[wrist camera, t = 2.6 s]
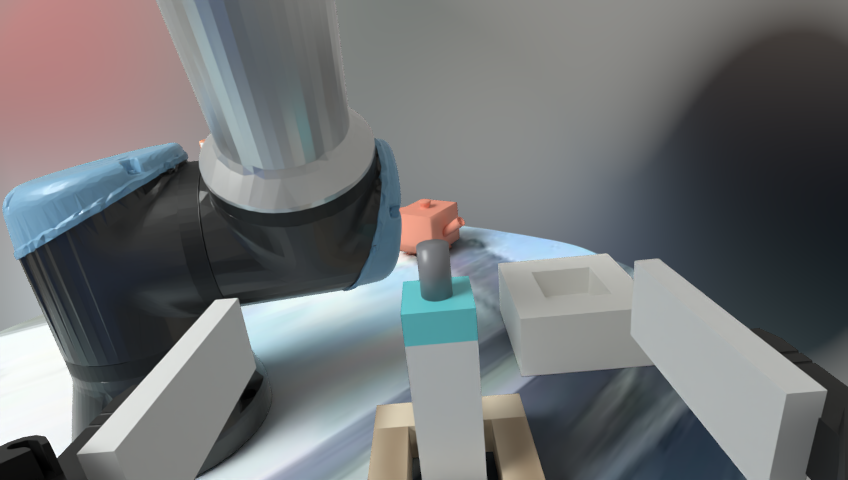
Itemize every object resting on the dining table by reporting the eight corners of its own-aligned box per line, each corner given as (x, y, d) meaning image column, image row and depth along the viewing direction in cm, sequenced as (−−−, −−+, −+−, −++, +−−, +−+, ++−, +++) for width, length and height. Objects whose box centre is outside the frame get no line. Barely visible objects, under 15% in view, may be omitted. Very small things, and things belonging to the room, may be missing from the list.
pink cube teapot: (452, 266, 67) (448, 211, 64) (387, 254, 73) (380, 204, 70) (478, 246, 73) (474, 196, 70) (415, 237, 79) (410, 191, 76)
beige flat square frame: (367, 578, 27) (359, 542, 26) (381, 435, 37) (376, 405, 36) (559, 564, 26) (559, 526, 25) (519, 424, 37) (519, 393, 36)
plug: (426, 518, 30) (394, 263, 23) (426, 468, 34) (397, 236, 27) (489, 513, 30) (472, 255, 23) (481, 463, 33) (465, 229, 27)
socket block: (521, 376, 42) (520, 318, 40) (500, 311, 53) (498, 263, 51) (654, 365, 42) (660, 306, 40) (604, 301, 53) (607, 253, 51)
